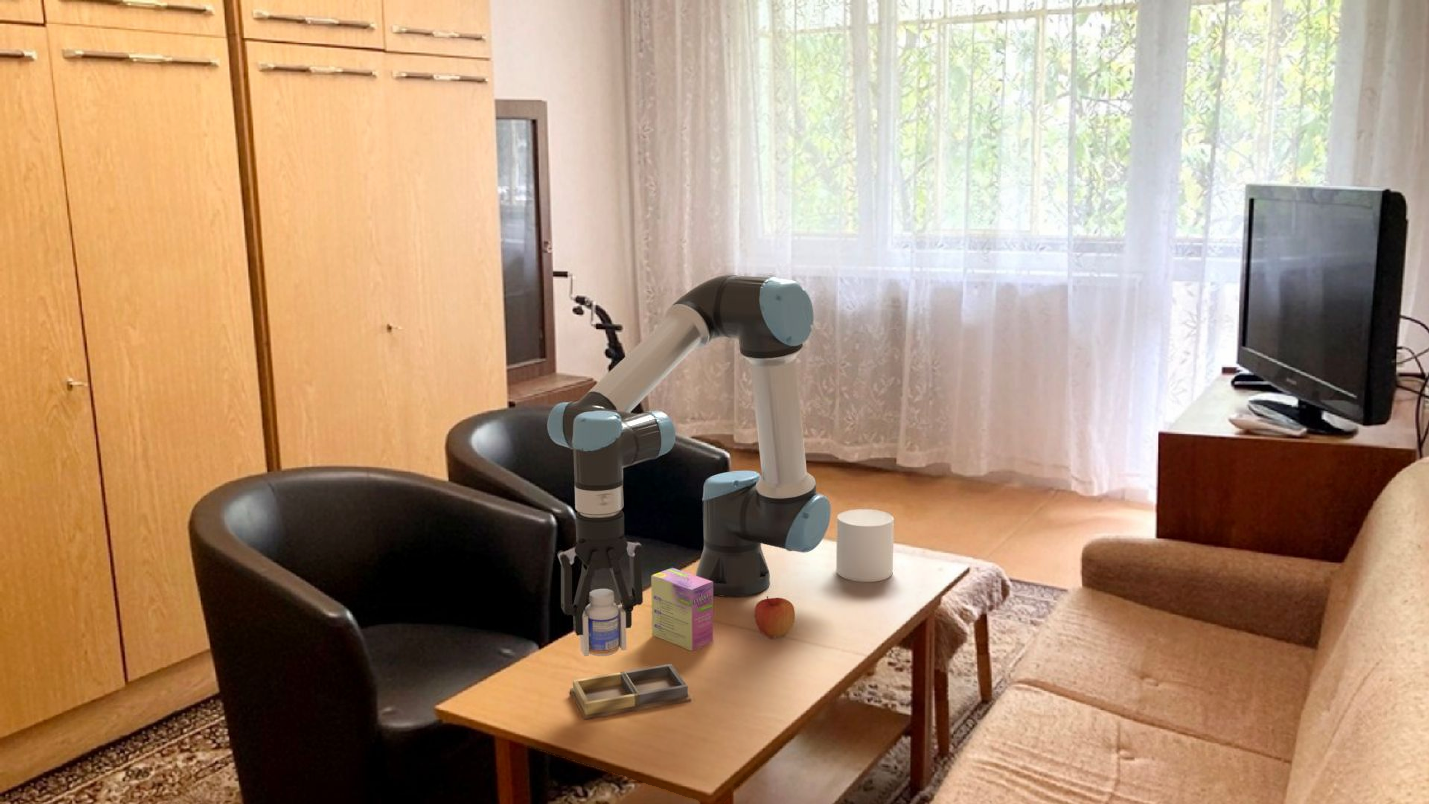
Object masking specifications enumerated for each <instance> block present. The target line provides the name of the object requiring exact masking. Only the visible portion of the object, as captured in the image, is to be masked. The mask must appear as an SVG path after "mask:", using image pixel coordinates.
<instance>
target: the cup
mask: <svg viewBox="0 0 1429 804" xmlns="http://www.w3.org/2000/svg"><path fill="white" fill-rule="evenodd" d="M894 524H895V518H894V517H893V515H892V514H890V513H889V512H887V511H882V510H877V509H871V508H857V509H849V510H845V511H841V512H840V513H839V514H838V515H837V517H836V563H835V566H836V568H835V569H836V573H837V575H839V576H840V577H842V578H843V579H846V580H848V581H854V582H859V583H860V582H861V583H875V582H880V581H884V580H887V579H888V578H891V576H892V575H893V570H894V530H895V529H894V528H895V526H894Z"/></svg>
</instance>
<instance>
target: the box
mask: <svg viewBox="0 0 1429 804" xmlns="http://www.w3.org/2000/svg"><path fill="white" fill-rule="evenodd" d="M650 578H651V579H650V580H651V584H650V585H651V629H652V630H651V633H652V636H654V637H656V638H659V639H661V640H664V641H667V642H669V643H671V644H674V645H677V646H680V647H682V648H684V649H686V650H689V651H691V652H694V651H696V650H699V649H701V648H703V647H705V646H708V645H709V644H712V643H713V642H714V595H713V581H710V580H707V579H704V578H701V577H698V576H696V574H695V575H694V574H692V573H688V572H685V571H682V570H680V569H677V568H675V567H670V568H668V569H665V570H662V571H660V572H657V573H654V574H652V575H651V577H650Z"/></svg>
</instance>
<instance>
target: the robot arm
mask: <svg viewBox="0 0 1429 804" xmlns="http://www.w3.org/2000/svg"><path fill="white" fill-rule="evenodd" d="M813 308H814V307H813V303H812V300H811V298H810V296H809V294H808V291H807V290H806V289H805V287H803V286H802V285H801V284H800V283H799V282H797V281H795V280H792V279H784V278H781V277H776V276H773V277H768V276H766V277H765V276H751V275H750V276H746V275H738V274H737V275H735V274H734V275H733V274H726V275H720V276H717V277H714V278H711V279H709V280H706V281H705V282H702V283H701V284H699V285H697V286H695V287H694V288H692V289H691V290H689V291H688V292H686V293H685V294H684V295H682V296H681V297H680V298H679V299H677V300H676V301H675V302H674V303H673V304H672V305H671V306H670V307H668V309H666V313H665V316H664V317H665V319H664V320H663V321H662V322H660V324H658V325H657V326H656V327H655V328H654V329H653V330H652V331H651V332H650V333H649V334H648V335H647V336H646V337H644V338H643V339H642V340H641V341H640V342H639V344H637V345H636V346H635V347H634V348H633V349H632V350H631V351H630V352H629V353H628V354H627V355H626V356H625V357H624V358H622V360H620V361H619V362H618V363H617V364H616V365H615V366H614V367H613V368H612V369H611V370H610V371H609V372H607V374H606V375H605V376H603V377H602V378H601V379H600V380H599V381H598V382H597V383H596V384H594V386H593V387H592V388H591V389H590V390H589V391H588V392H586V393H585V395H583V396H582V397H581V398H579V400H578V401H577V402H574V401H568V402H566V401H565V402H564V401H563V402H560V403H557V404H556V405H554V406H553V408H552V409H551V410H550V412H549V415H548V417H547V421H546V423H547V424H546V426H547V427H546V428H547V433H548V435H549V437H550V439H551V440H552V441H553V442H554V443H555V444H557V445H559V446H562V447H565V448H569V449H571V450H572V451H573V452H572V453H573V455H572V456H573V470H574V471H573V472H574V473H573V474H574V504H575V505H574V507H575V510H576V511H577V512H576V513H575V538H576V539H575V542H574V544H573V547H572V548H569V549H568V550H565V551H564V550H559V551H557V558H558V561H559V564H560V607H561V609H562V611H563V614H565V615H566V616H573V618H572V619H573V620H572V621H573V630H574V633H575V635H576V636H579V638H580V639H579V640H580V643H579V644H580V651H581V652H582V654H583V657H588V656H590V654H589V633H588V616H587V615H586V613H585V608H586V606H587V605H586V603H587V600H588V598H589V597H588V596H589V593H590V589H591V585H592V581H593V578H594V576H595V573H596V571H598V570H601V569H605V570H606V569H608V570H610V574H611V576H612V579H613V581H614V582H613V583H614V585H615V589H616V591H617V594H618V598H619V601H620V604H621V605H617V606H618V608H619V649H620V650H621V651H627V629H630V628H632V625H633V622H632V621H633V620H632V615H633V614H632V613H633V611H634V607H637V605H638V606H641V605H642V604H643V602H644V597H643V594H644V593H643V579H642V557H643V555H644V547H643V545H642V544H641V543H640V542H639V541H634V542H632V541H631V542H630V541H627V539H626V537H625V513H624V511H623V510H622V509H623V508H624V488H623V487H624V468H627V467H630V466H633V465H636V464H639V463H644V462H647V461H650V460H655V459H657V458H659V457H661V456H662V455H665V454H668V453H669V452H670V451H671V450H672V449H673V447H674V445H675V443H676V436H677V434H676V427H675V424H674V423H673V421H672V419H671V418H670V416H668V415H667V414H666V413H665V412H663V411H661V410H645V411H643V412H642V413H634V412H632V411H633V410H634V409H635V408H637V406H638V405H639V404H640V403H641V401H643V400H644V399H645V397H647V396H648V395H649V394H650V393H651V392H652V391H653V390H654V389H655V388H656V387H657V386H658V385H659V384H660V383H661V382H662V381H663V380H664V379H666V377H667V376H668V375H669V374H670V373H671V372H672V371H673V370H674V369H675V368H676V367H678V365H680V363H681V362H682V361H684V360H685V358H686V357H687V356H688V355H689V354H690V353H691V352H693V350H696V349H697V350H699V349H702V348H704V347H705V346H706V345H707V344H708V343H709V342H711V341H713V340H715V339H720V338H728V339H737V340H738V345H739V352H740V356H741V357H742V358H744V359H746V360H747V361H748V362H749V368H750V376H751V386H752V394H753V403H754V404H753V405H754V415H755V422H756V430H757V431H756V432H757V439H758V442H757V443H758V449H759V450H758V451H759V458H760V468H761V469H760V470H761V474H760V473H759V472H758V471H753V470H734V471H727V472H722V473H718V474H715V475H712V476H709V477H708V478H706V480H705V482H704V484H703V492H702V494H703V495H702V498H701V499H702V514H703V515H702V517H703V518H702V521H703V523H702V524H703V548H702V549H703V550H702V553H701V555H700V559H699V562H698V565H697V568H696V571H695V576H698V577H701V578H704V579H707V580H710V581H713V596H717V597H718V596H719V597H734V598H735V597H745V596H752V595H756V594H758V593H760V592H763V591H765V590H766V589H767V588H768V587H769V586H770V584H771V583H770V582H771V581H770V580H771V577H770V574H771V573H770V570H769V569H770V568H769V566H768V563H767V560H766V558H765V555H764V552H763V549H762V545H767V546H770V547H775V548H780V549H784V550H786V551H787V552H797V553H809V552H811V551H813V550H814V549H815V548H817V547H818V546H819V544H820V543H821V542H822V541H823V539H824V537H825V535H826V533H827V531H828V528H829V526H830V521H831V513H832V508H831V503H830V500H829V499H828V498H827V497H826V496H825V495H823V494H822V493H819V494H818V492H817V483H816V479H815V477H814V476H813V475H811V474H810V473H809V472H807V463H806V452H805V451H806V450H805V441H804V432H803V431H804V429H803V420H802V409H801V408H802V407H801V398H800V389H799V378H798V376H799V375H798V368H797V356H798V355H799V353H801V352H802V351H803V348H804V343H805V342H806V341H807V340H808V339H809V337H810V335H811V333H812V331H813V328H812V325H814V309H813ZM626 550H627V551H626ZM625 552H626V553H627V555H628V556H629V573H630V575H629V576H630V591H631V594H630V595H629V593H628V588H627V586H626V582H625V579H624V577H623V574H622V569H621V566H620V563H619V560H620V559H621V558H622V556H623V555H624V553H625ZM576 556H577V557H578V559H580V561H582V565H581V570H580V571H581V573H580V576H579V580H578V584H577V589H576V593H575V596H574V599H573V569H572V565H573V564H574V563H575V557H576ZM573 600H574V601H573Z"/></svg>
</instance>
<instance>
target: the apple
mask: <svg viewBox="0 0 1429 804" xmlns="http://www.w3.org/2000/svg"><path fill="white" fill-rule="evenodd" d="M795 618H796V610H795V607H794V604H793V603H792V602H791V601H789V600H787V599H786V598H783V597H771V598H769V596H766V598H765V599H761V600H760V601H758V602H757V604H756V605H755V608H754V620H755V621H754V622H755V624H756V626H757V628H758V630H759V631H760V632H761V633H762V634H763V635H764V636H766V637H767V638H768V639H770V640H772V639H776V638H778V637H785V636H786V635H787V634H789V632H790V631H791V629H792V627H793V626H794V623H795Z"/></svg>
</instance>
